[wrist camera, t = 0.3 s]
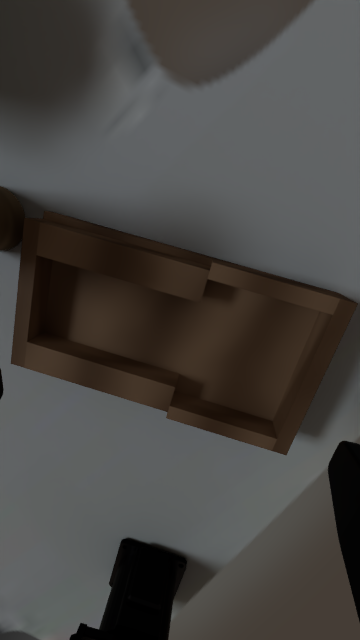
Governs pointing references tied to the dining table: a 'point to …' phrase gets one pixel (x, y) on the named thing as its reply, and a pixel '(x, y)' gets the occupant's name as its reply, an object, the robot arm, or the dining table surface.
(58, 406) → the dining table surface
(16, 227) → the peg
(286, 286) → the tray
